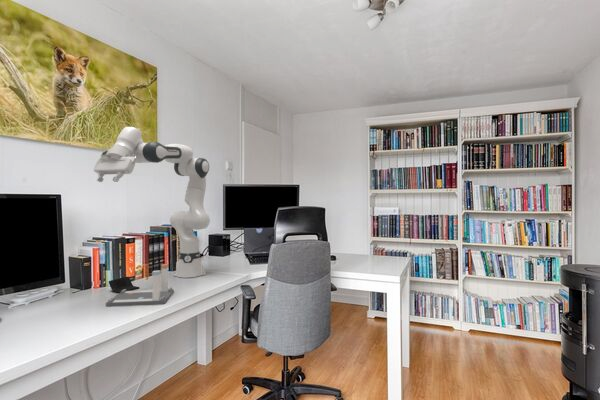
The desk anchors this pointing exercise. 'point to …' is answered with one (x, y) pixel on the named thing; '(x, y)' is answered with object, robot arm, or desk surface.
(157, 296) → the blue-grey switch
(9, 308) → the desk surface
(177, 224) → the robot arm
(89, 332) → the desk surface
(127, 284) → the handheld gaming console
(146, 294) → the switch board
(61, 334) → the desk surface
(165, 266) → the grey upright post
